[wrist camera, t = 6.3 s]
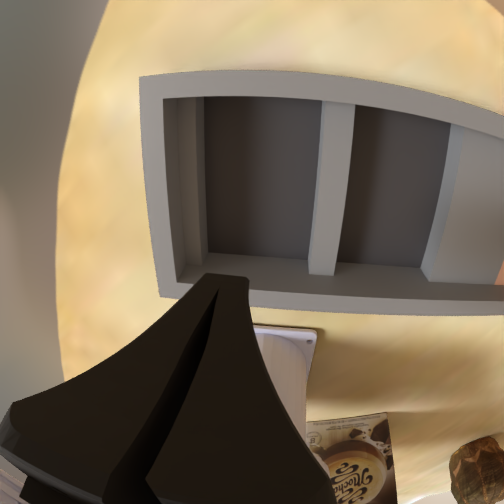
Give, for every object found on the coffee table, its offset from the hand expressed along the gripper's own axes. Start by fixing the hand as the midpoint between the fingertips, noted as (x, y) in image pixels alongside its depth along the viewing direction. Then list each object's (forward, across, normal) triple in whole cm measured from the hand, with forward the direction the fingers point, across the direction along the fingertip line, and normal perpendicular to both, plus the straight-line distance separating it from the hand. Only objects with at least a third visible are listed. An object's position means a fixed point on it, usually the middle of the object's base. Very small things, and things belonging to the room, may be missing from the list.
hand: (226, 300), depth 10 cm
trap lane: (+10, -10, -1) cm, 14 cm away
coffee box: (+10, -12, +26) cm, 30 cm away
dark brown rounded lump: (+9, -38, +36) cm, 53 cm away
